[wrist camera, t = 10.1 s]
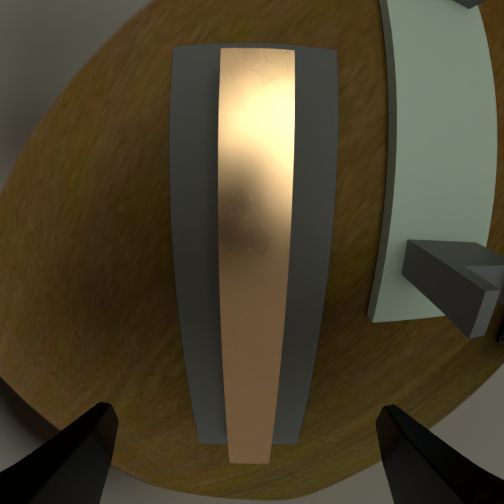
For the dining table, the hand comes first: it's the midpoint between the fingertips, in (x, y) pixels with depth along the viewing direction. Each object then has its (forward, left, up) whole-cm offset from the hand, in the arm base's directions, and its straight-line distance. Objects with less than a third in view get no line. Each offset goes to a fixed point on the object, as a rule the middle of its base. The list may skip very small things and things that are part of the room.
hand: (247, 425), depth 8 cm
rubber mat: (0, 0, -8) cm, 9 cm away
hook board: (+12, -11, -8) cm, 18 cm away
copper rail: (0, 0, -8) cm, 8 cm away
